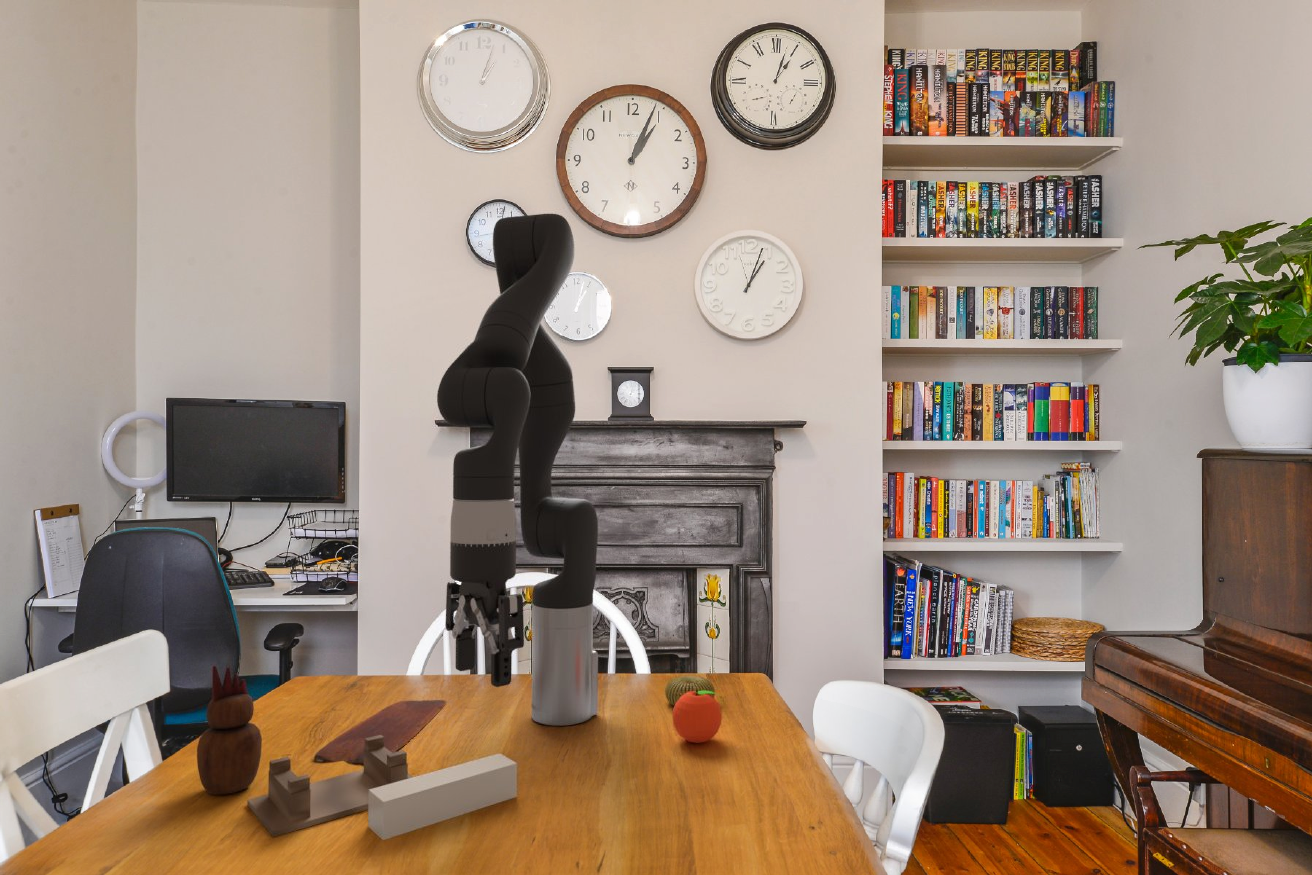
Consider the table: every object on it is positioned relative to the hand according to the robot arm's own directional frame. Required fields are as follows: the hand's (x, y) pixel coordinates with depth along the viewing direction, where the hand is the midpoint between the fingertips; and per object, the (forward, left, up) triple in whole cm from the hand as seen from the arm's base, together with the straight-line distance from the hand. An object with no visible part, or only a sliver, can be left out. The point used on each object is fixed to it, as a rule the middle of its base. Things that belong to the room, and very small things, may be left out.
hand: (482, 677), depth 92 cm
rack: (+12, -11, -14) cm, 22 cm away
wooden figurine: (+21, -22, -14) cm, 34 cm away
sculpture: (-43, -10, -14) cm, 46 cm away
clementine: (-33, +3, -14) cm, 36 cm away
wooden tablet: (-2, -30, -15) cm, 33 cm away
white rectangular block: (+4, 0, -14) cm, 15 cm away
